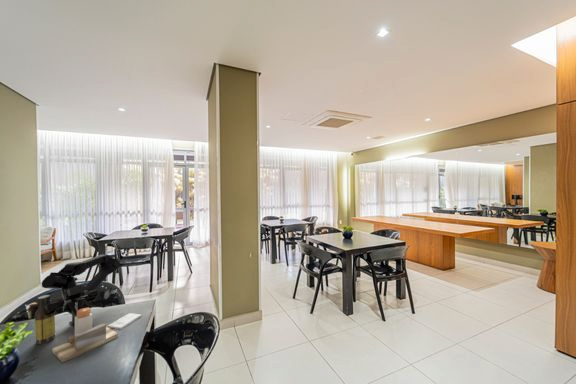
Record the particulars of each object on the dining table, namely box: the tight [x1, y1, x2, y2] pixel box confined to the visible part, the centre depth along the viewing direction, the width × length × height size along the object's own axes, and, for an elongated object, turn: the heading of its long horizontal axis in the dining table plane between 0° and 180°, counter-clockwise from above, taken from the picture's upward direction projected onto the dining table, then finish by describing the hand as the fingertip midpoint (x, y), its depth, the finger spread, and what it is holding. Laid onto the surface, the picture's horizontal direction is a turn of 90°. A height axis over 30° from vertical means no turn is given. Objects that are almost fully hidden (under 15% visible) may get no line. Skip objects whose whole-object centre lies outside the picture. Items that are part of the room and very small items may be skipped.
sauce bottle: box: [34, 294, 56, 345], centre depth 105 cm, size 6×6×20 cm
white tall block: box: [74, 308, 93, 336], centre depth 105 cm, size 5×5×12 cm
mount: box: [52, 323, 119, 363], centre depth 103 cm, size 12×19×8 cm, turn 149°
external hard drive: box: [106, 312, 142, 330], centre depth 121 cm, size 2×8×12 cm
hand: (78, 317), depth 107 cm, fingers closed
